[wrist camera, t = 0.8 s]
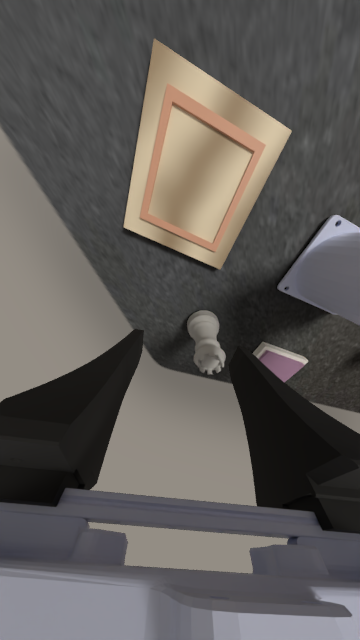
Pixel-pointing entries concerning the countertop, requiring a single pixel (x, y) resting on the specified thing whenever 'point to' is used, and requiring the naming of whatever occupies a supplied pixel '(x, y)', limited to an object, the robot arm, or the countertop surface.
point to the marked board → (197, 160)
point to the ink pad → (279, 360)
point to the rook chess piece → (206, 341)
